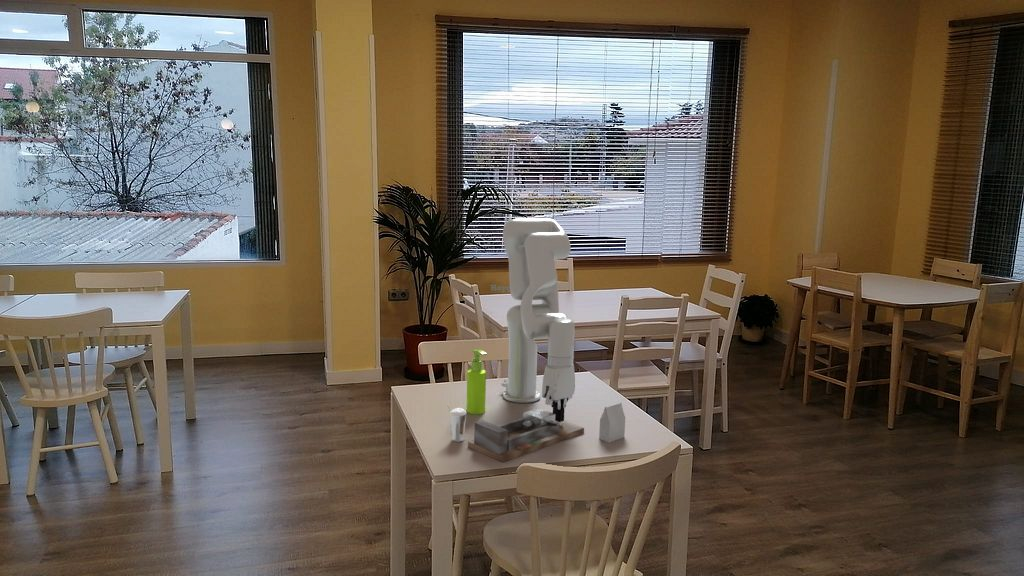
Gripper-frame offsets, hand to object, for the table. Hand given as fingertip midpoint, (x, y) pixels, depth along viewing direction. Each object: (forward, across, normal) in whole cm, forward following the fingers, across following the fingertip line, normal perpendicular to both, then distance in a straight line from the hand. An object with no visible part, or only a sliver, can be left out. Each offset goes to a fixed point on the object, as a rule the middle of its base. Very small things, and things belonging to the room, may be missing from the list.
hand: (558, 420), depth 219 cm
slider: (+1, +10, +1) cm, 10 cm away
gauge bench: (+3, +13, 0) cm, 13 cm away
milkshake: (+3, +28, -13) cm, 31 cm away
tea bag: (+3, -7, +15) cm, 17 cm away
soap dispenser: (+3, +8, -27) cm, 28 cm away
